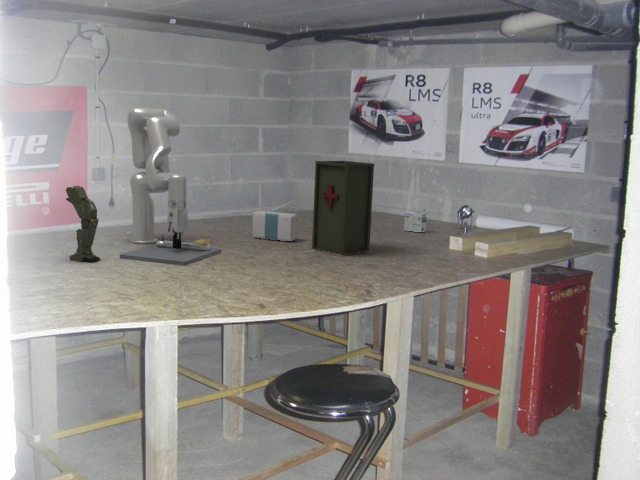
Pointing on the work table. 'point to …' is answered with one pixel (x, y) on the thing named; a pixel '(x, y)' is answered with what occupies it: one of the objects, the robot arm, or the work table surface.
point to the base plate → (169, 255)
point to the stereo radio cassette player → (274, 225)
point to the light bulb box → (415, 221)
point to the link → (182, 244)
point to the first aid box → (342, 206)
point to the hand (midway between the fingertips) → (177, 248)
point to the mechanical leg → (84, 224)
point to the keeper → (202, 241)
